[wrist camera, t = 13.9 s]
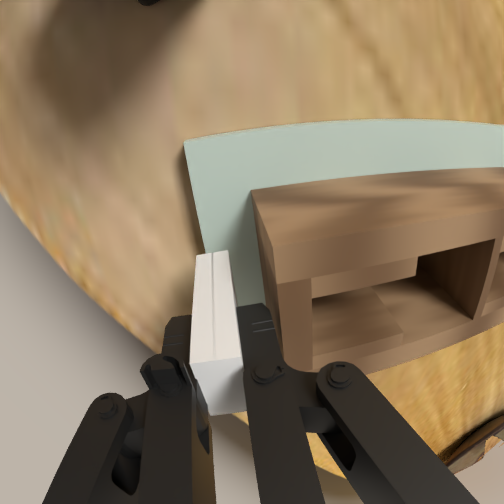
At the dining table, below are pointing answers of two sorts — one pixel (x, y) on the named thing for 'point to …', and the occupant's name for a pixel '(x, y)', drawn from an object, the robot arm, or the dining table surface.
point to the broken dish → (475, 445)
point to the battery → (148, 2)
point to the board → (315, 171)
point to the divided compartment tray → (381, 264)
